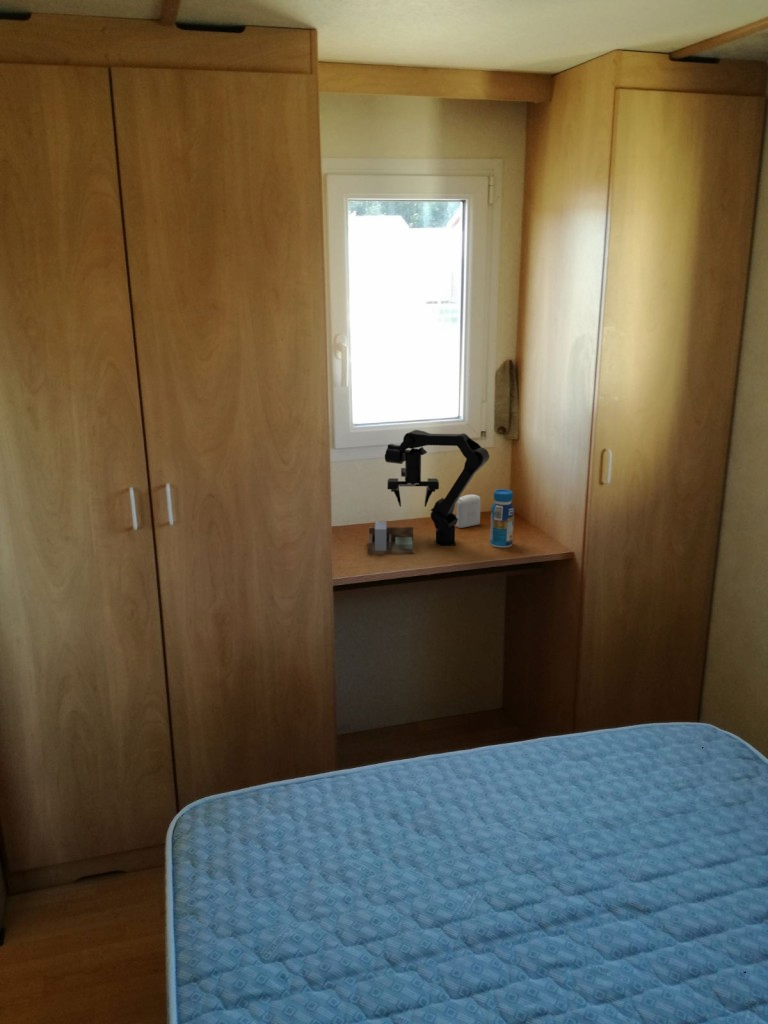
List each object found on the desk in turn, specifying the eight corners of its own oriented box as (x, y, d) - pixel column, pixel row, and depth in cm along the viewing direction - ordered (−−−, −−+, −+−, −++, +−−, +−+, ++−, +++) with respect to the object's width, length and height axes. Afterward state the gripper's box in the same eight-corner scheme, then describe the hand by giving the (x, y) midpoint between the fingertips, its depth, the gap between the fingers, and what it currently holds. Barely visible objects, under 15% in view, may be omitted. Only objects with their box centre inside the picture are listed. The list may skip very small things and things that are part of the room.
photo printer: (474, 521, 311) (475, 491, 307) (481, 524, 308) (482, 494, 304) (454, 526, 306) (454, 495, 302) (460, 529, 302) (461, 498, 299)
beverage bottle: (485, 541, 288) (487, 489, 282) (506, 539, 291) (508, 487, 285) (495, 549, 280) (497, 495, 275) (516, 546, 283) (519, 493, 277)
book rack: (413, 542, 288) (413, 526, 286) (413, 553, 276) (414, 537, 274) (369, 542, 288) (369, 526, 286) (368, 553, 276) (368, 537, 275)
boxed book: (386, 542, 285) (386, 521, 283) (386, 550, 276) (386, 529, 274) (375, 542, 285) (375, 521, 283) (374, 550, 276) (374, 529, 274)
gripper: (437, 460, 293) (436, 500, 297) (387, 460, 293) (387, 500, 298) (439, 467, 282) (438, 508, 287) (387, 467, 282) (387, 508, 287)
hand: (412, 506), depth 290 cm, fingers open, 9 cm apart
